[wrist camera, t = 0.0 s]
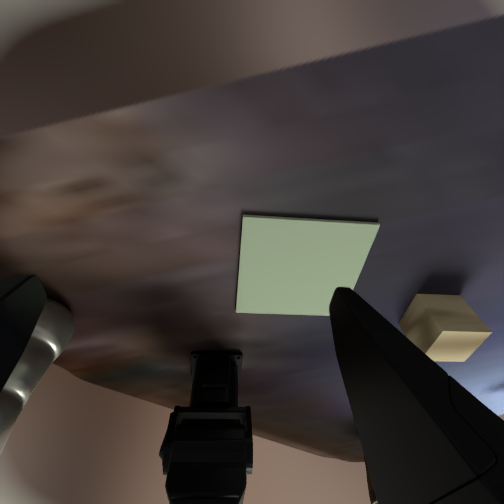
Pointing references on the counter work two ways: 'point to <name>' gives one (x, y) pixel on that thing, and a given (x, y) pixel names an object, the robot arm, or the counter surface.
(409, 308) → the beech block
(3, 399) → the silver ribbed metal bottle
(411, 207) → the counter surface
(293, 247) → the sage mat
